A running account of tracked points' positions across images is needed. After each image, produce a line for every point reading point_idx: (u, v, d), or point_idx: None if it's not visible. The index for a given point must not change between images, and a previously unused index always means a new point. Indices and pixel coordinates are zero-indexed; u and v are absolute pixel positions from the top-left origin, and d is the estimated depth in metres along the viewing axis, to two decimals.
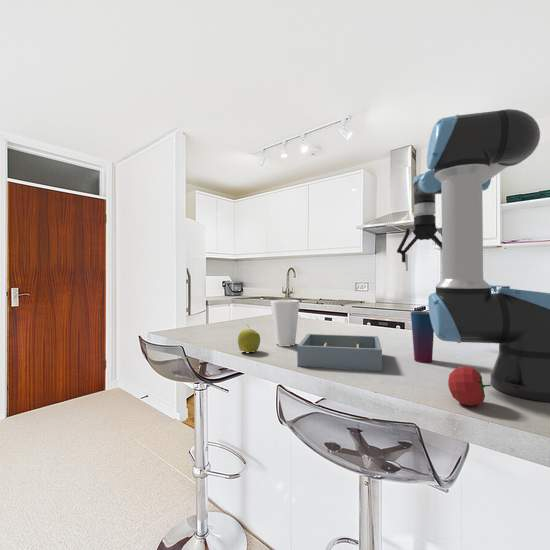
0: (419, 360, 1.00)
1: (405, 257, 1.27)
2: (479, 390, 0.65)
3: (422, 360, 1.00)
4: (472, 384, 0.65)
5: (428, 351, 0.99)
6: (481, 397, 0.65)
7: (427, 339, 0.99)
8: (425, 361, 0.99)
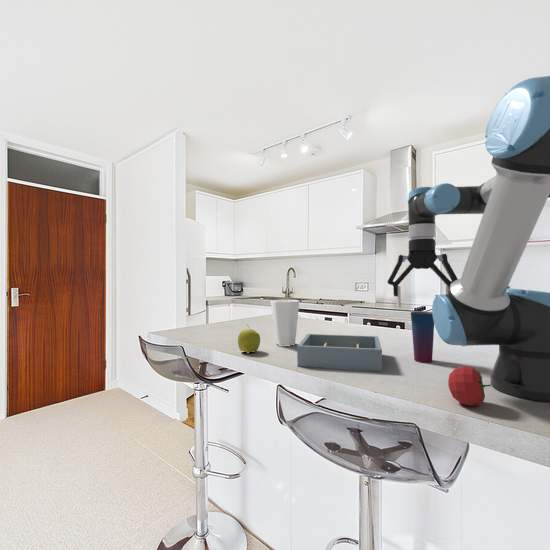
0: (419, 360, 1.00)
1: (397, 290, 1.03)
2: (479, 390, 0.65)
3: (422, 360, 1.00)
4: (472, 384, 0.65)
5: (428, 351, 0.99)
6: (481, 397, 0.65)
7: (427, 339, 0.99)
8: (425, 361, 0.99)
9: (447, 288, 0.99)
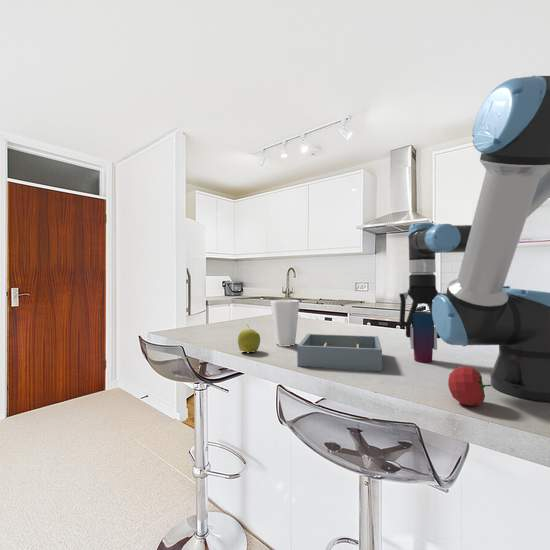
0: (419, 360, 1.00)
1: (410, 331, 1.02)
2: (479, 390, 0.65)
3: (422, 360, 1.00)
4: (472, 384, 0.65)
5: (428, 351, 0.99)
6: (481, 397, 0.65)
7: (427, 339, 0.99)
8: (425, 361, 0.99)
9: (435, 330, 1.00)
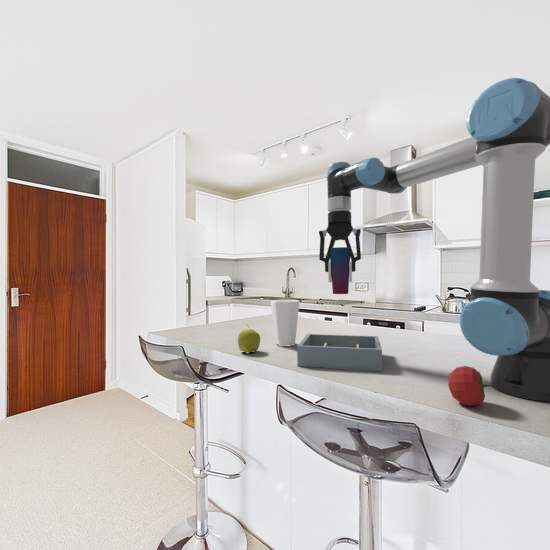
0: (335, 292, 1.06)
1: (328, 266, 1.08)
2: (479, 390, 0.65)
3: (338, 292, 1.06)
4: (473, 384, 0.65)
5: (343, 283, 1.05)
6: (481, 397, 0.65)
7: (342, 271, 1.05)
8: (340, 292, 1.05)
9: (350, 263, 1.06)
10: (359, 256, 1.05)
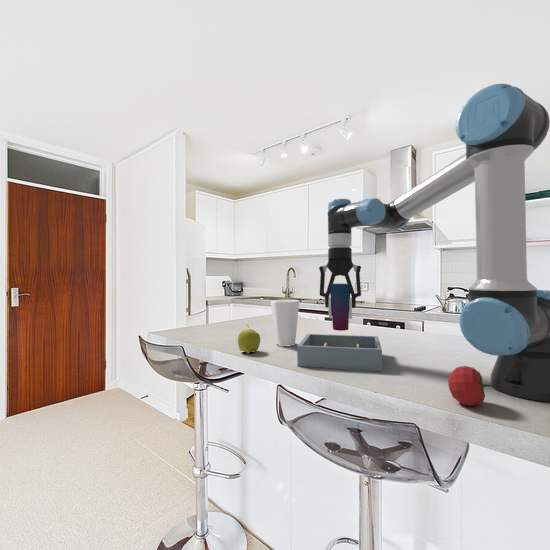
0: (335, 328, 1.06)
1: (328, 302, 1.08)
2: (479, 390, 0.65)
3: (338, 328, 1.06)
4: (472, 384, 0.65)
5: (343, 319, 1.05)
6: (481, 397, 0.65)
7: (342, 308, 1.05)
8: (340, 329, 1.06)
9: (350, 300, 1.06)
10: (359, 293, 1.05)
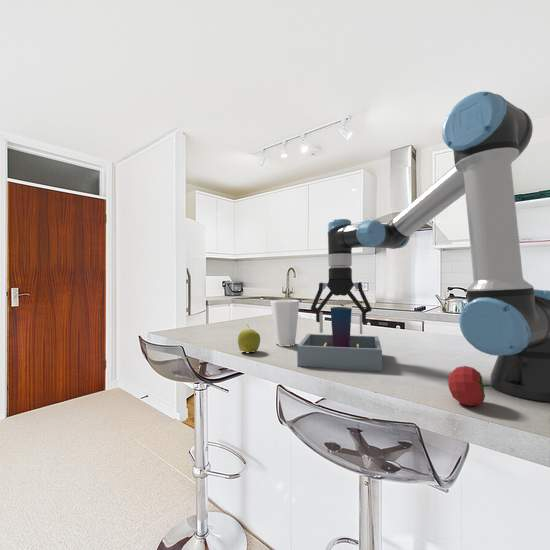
0: None
1: (319, 316, 1.09)
2: (479, 390, 0.65)
3: None
4: (472, 384, 0.65)
5: (344, 344, 1.05)
6: (481, 397, 0.65)
7: (343, 333, 1.05)
8: None
9: (361, 315, 1.05)
10: (369, 308, 1.04)
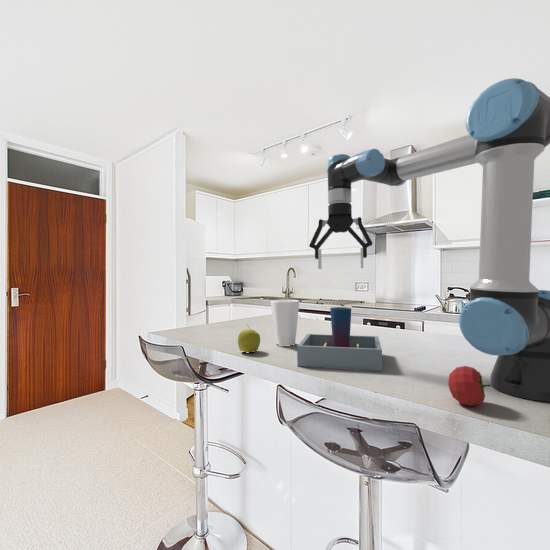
0: None
1: (318, 253, 1.09)
2: (479, 390, 0.65)
3: None
4: (472, 384, 0.65)
5: (343, 344, 1.05)
6: (481, 397, 0.65)
7: (343, 333, 1.05)
8: None
9: (362, 249, 1.05)
10: (370, 242, 1.04)
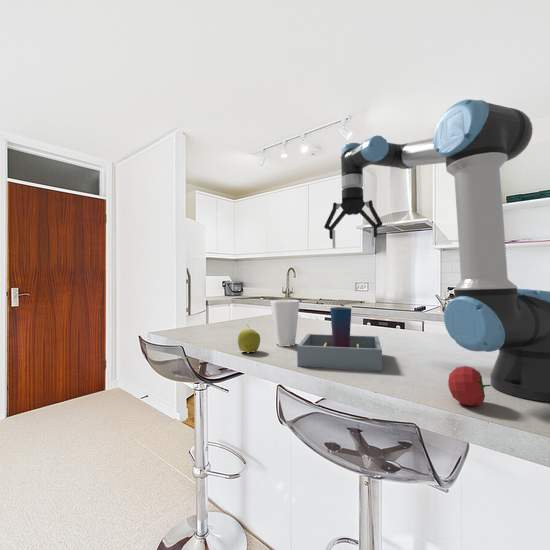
0: None
1: (332, 233, 1.19)
2: (479, 390, 0.65)
3: None
4: (472, 384, 0.65)
5: (343, 344, 1.05)
6: (481, 397, 0.65)
7: (343, 333, 1.05)
8: None
9: (372, 229, 1.15)
10: (380, 222, 1.15)
